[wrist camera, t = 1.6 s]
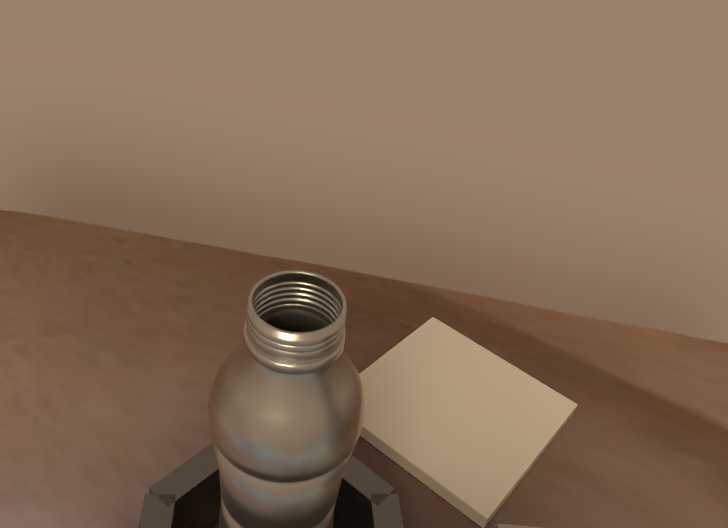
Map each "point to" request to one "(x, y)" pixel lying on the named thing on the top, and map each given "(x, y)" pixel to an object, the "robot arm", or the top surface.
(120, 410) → the top surface
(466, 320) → the top surface
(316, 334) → the plastic bottle
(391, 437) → the ceramic tile
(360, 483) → the metal ring
